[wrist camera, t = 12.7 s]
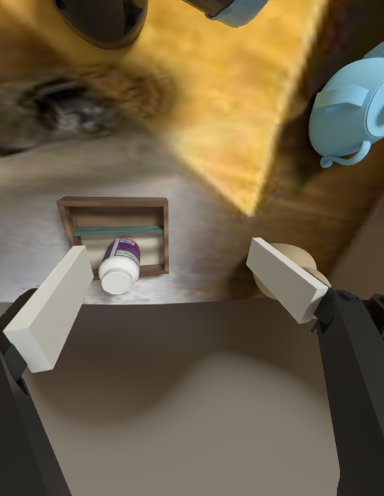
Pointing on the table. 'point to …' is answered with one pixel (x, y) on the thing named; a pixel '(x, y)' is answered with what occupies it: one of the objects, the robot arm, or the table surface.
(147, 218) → the crate
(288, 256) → the vase
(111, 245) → the pill bottle
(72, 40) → the table surface
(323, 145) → the teapot
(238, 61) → the table surface
